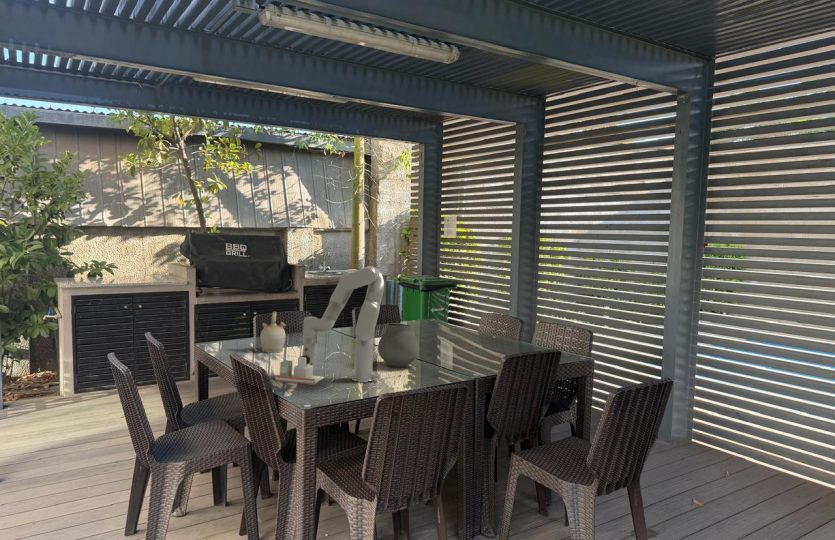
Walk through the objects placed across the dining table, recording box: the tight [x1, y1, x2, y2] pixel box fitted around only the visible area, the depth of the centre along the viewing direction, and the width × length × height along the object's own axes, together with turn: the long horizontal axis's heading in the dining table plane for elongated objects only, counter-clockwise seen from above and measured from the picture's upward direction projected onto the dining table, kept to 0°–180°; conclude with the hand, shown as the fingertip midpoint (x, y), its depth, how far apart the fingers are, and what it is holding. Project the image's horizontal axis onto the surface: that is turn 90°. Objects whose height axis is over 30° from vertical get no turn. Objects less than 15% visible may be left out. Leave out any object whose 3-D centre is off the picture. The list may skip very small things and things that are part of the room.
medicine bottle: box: [293, 355, 314, 379], centre depth 295 cm, size 7×7×12 cm
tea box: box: [279, 359, 293, 377], centre depth 294 cm, size 4×6×9 cm, turn 170°
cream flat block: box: [275, 373, 325, 386], centre depth 296 cm, size 20×17×3 cm
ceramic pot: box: [377, 322, 420, 368], centre depth 337 cm, size 24×24×25 cm
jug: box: [259, 311, 287, 354], centre depth 359 cm, size 15×16×25 cm
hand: (308, 374), depth 302 cm, fingers closed
